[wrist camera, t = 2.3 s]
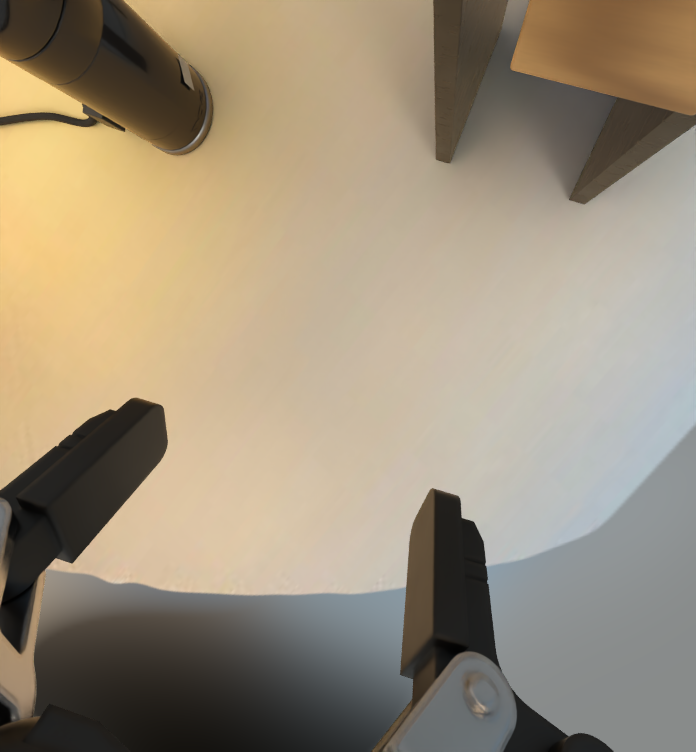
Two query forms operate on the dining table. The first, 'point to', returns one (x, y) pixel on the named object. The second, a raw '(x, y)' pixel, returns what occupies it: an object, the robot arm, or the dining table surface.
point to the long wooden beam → (614, 48)
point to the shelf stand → (467, 67)
